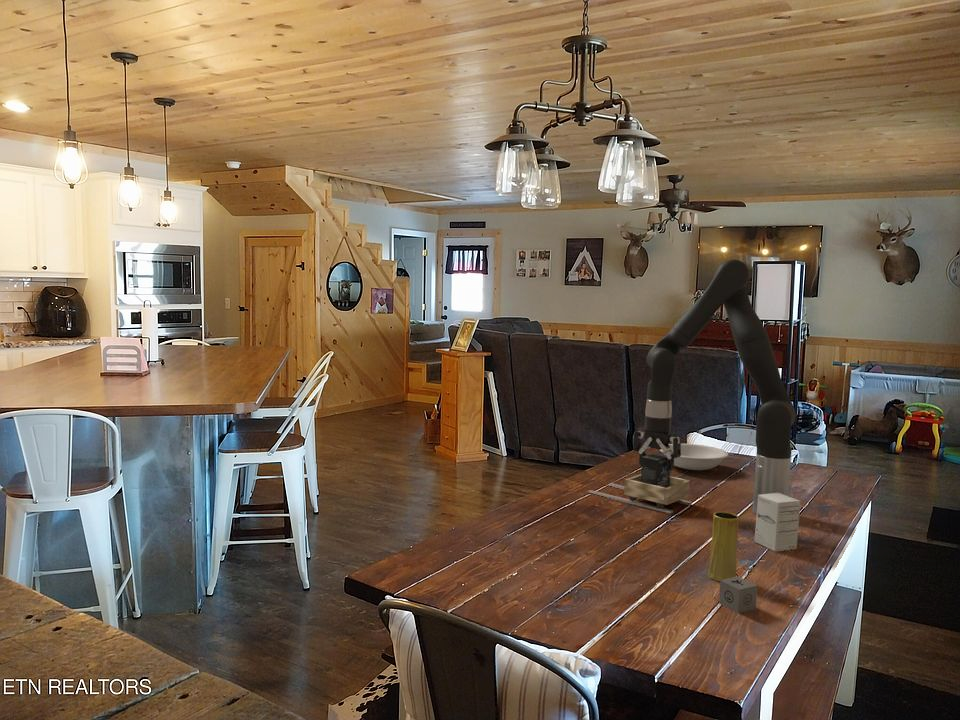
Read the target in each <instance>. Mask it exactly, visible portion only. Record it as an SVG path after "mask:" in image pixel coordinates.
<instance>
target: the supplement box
mask: <svg viewBox="0 0 960 720" xmlns="http://www.w3.org/2000/svg"><path fill="white" fill-rule="evenodd" d="M801 502H802V501H801V500H799V499H798V498H797V499H796V498H793V497H789V496H786V495H783V494H781V493H770V494H761V495H758V503H757V514H756V515H755V516H756V519H755V530H754V531H755V532H754V543H757V544H759V545H761V546H763V547H765V548H767V549H768V550H771V551H772V552H785V551H790V550H791V549H792V550H796V549H797V548H798V547H797V546H798V538H799V537H798V536H799V535H798V534H799V526H800V525H799V524H800V523H799V522H800V513H801ZM784 550H785V551H784Z"/></svg>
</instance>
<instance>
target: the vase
mask: <svg viewBox="0 0 960 720" xmlns="http://www.w3.org/2000/svg"><path fill="white" fill-rule="evenodd" d="M711 532H712V533H711V534H712V535H711V548H710V555H709V562H708V570H707V577H708V578H709V579H711V580H713V581H715V582H719V583H720V580H724V579H728V578H733V577H737V564H738V560H737V558H738V533H739V515H737V514H735V513H731V512H728V511H716V512H714V513H713V516H712V531H711Z"/></svg>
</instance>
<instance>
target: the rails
mask: <svg viewBox="0 0 960 720" xmlns="http://www.w3.org/2000/svg"><path fill="white" fill-rule="evenodd" d="M608 485H609V486H608V487H610V486H612V487H611V488H614V487H615V489H618V488H619V489H620V490H622V491H624V486H625V485H620V484H616V483H613V482H610V483H608ZM588 492H589V493H593V494H597V495H600V496H599V497H601V496H604V497H603V498H605V497H607V498H606V499H609V498H611V499H610V500H613V499H614V501H617V500H618V501H617V502H621V503H626V504H631V505H633V506H637V507H640V508H645V509H649V510H653V511H657V512H662V513H664V514H665V513H666V514H670V515H671V514H674V510H673V509H669V508H666V507H662V508H659V507H658V506H657V505H653V504H649V503H645V502H641V501H636V500H635V501H631V500H630V498H629V499H628V498H624V497H620V496H618V495H617V496H616V495H612V494H608V493H605V492H601V491H597V490H594V489H593V490H592V489H590V490H587V493H588ZM589 493H588V494H589ZM593 494H592V495H593ZM597 495H596V496H597ZM677 502H678V503H677ZM674 503H677V504H681V505H686V506H692V505H693V502H692V501H689V500H685V499H680V500H677V501H675V502H674Z"/></svg>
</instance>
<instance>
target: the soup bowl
mask: <svg viewBox="0 0 960 720" xmlns="http://www.w3.org/2000/svg"><path fill="white" fill-rule="evenodd" d="M669 445H670V446H671V448H672V451H673V444H672V443H669ZM659 452H661V453H662V454H663V455H666V454H665V453H664V452H663V451H662V449H661V450H659ZM728 457H729V453H728V452H727V451H726V450H724V449H722V448H721V449H720V448H717V447H714V446H709V445H705V444H703V445H702V444H694V443H681V456H680V457H677V458H675V459H674V467H677V468H681V469H685V470H691V471H692V470H693V471H706V470H707V471H708V470H711V469H713V468H715V467H717V466H718V465H720V464H721V463H722V461H723V460H724V459H727V458H728Z"/></svg>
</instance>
